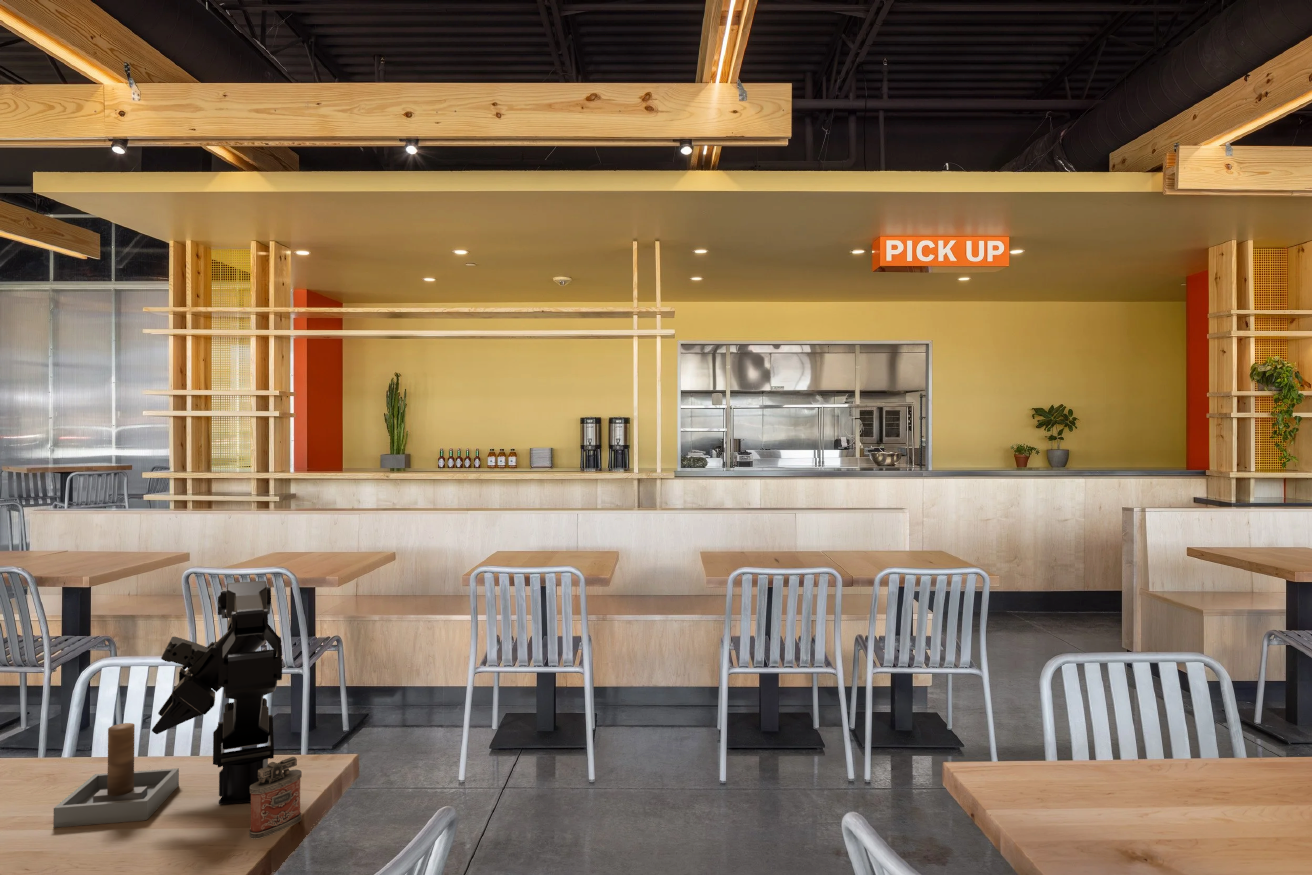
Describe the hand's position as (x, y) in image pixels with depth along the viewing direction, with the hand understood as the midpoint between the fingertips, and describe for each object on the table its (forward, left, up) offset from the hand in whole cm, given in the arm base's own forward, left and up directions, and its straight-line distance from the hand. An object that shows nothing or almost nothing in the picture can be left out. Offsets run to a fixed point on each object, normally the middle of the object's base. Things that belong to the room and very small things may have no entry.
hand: (157, 723), depth 133 cm
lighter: (-22, +14, -13) cm, 29 cm away
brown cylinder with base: (+5, +1, -12) cm, 13 cm away
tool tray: (+5, +1, -13) cm, 14 cm away
